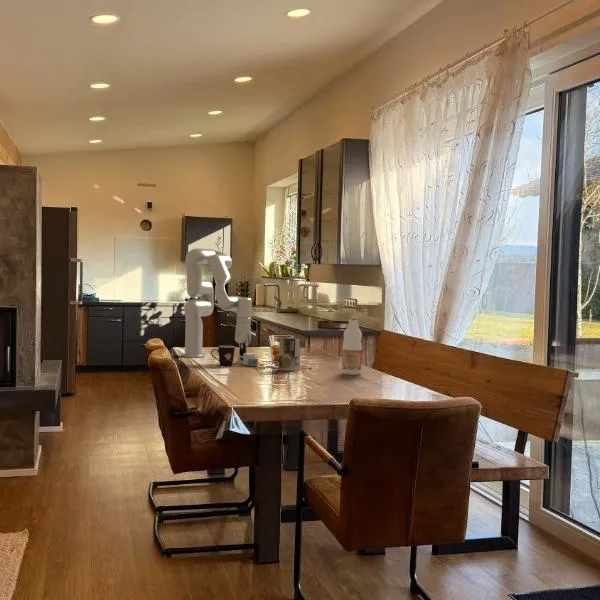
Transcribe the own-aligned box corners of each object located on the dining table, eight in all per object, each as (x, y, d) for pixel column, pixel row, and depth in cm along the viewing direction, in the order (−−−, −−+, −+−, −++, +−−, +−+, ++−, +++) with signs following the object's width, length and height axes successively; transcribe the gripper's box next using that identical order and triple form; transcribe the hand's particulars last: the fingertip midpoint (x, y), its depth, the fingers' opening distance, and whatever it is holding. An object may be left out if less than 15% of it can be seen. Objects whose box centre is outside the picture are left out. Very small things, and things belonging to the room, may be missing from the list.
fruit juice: (337, 372, 359) (340, 316, 357) (353, 371, 364) (355, 316, 363) (349, 375, 351) (351, 317, 350) (364, 374, 356) (366, 317, 355)
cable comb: (235, 362, 381) (235, 356, 381) (245, 362, 384) (246, 356, 384) (236, 363, 380) (236, 356, 380) (246, 362, 383) (247, 356, 383)
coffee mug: (236, 365, 372) (236, 346, 371) (232, 367, 363) (233, 347, 363) (213, 364, 373) (214, 345, 373) (210, 366, 364) (210, 346, 364)
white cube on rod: (243, 364, 375) (243, 353, 375) (250, 363, 377) (251, 353, 377) (246, 365, 371) (247, 354, 371) (254, 365, 374) (254, 354, 373)
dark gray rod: (237, 361, 382) (238, 355, 382) (243, 361, 384) (243, 355, 383) (251, 365, 368) (251, 359, 368) (256, 365, 370) (257, 359, 370)
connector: (248, 366, 370) (248, 358, 370) (255, 365, 372) (255, 358, 372) (250, 366, 368) (250, 359, 368) (257, 366, 370) (257, 358, 370)
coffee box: (300, 370, 363) (301, 338, 363) (294, 371, 357) (295, 339, 357) (283, 368, 367) (284, 336, 366) (278, 369, 361) (279, 337, 361)
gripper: (231, 319, 384) (230, 354, 385) (243, 322, 371) (242, 357, 372) (244, 319, 388) (242, 353, 389) (256, 322, 375) (255, 357, 376)
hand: (242, 355), depth 380 cm, fingers closed
